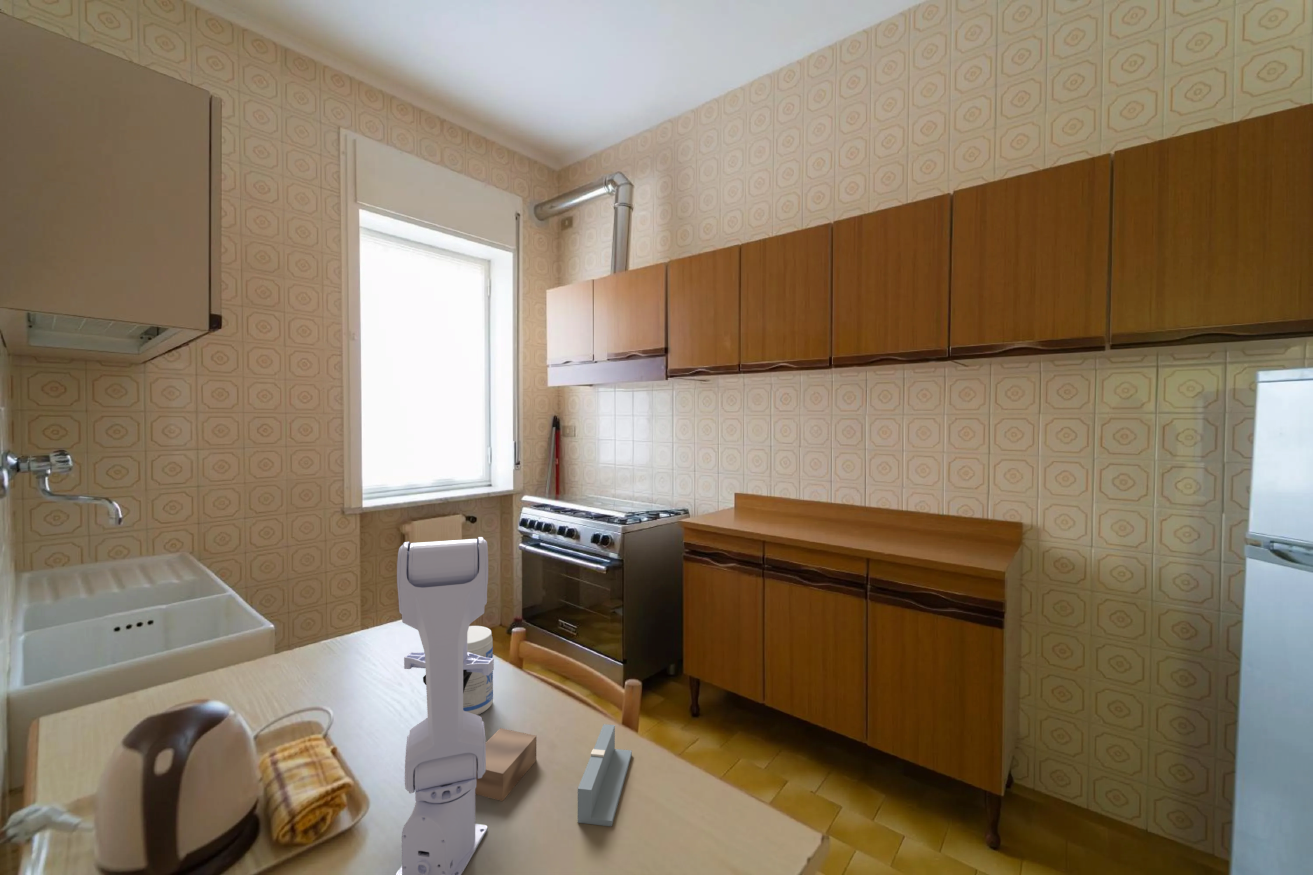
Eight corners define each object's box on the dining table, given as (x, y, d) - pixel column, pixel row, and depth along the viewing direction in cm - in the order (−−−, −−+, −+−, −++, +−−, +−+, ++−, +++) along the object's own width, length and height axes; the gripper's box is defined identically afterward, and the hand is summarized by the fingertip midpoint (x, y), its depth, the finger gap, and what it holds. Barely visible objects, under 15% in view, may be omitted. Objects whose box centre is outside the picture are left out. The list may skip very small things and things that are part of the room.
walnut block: (502, 802, 80) (502, 773, 79) (463, 792, 82) (463, 764, 81) (536, 761, 89) (536, 735, 89) (500, 753, 91) (500, 727, 91)
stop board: (611, 826, 75) (611, 789, 75) (577, 822, 76) (577, 786, 75) (631, 754, 91) (632, 724, 90) (603, 752, 91) (603, 722, 91)
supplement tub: (499, 711, 104) (499, 637, 103) (448, 726, 99) (448, 648, 98) (485, 689, 112) (485, 621, 111) (437, 702, 107) (437, 630, 106)
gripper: (501, 624, 89) (501, 703, 89) (421, 619, 91) (421, 696, 91) (482, 642, 82) (482, 727, 82) (395, 636, 84) (396, 719, 84)
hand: (449, 712), depth 86 cm, fingers closed
